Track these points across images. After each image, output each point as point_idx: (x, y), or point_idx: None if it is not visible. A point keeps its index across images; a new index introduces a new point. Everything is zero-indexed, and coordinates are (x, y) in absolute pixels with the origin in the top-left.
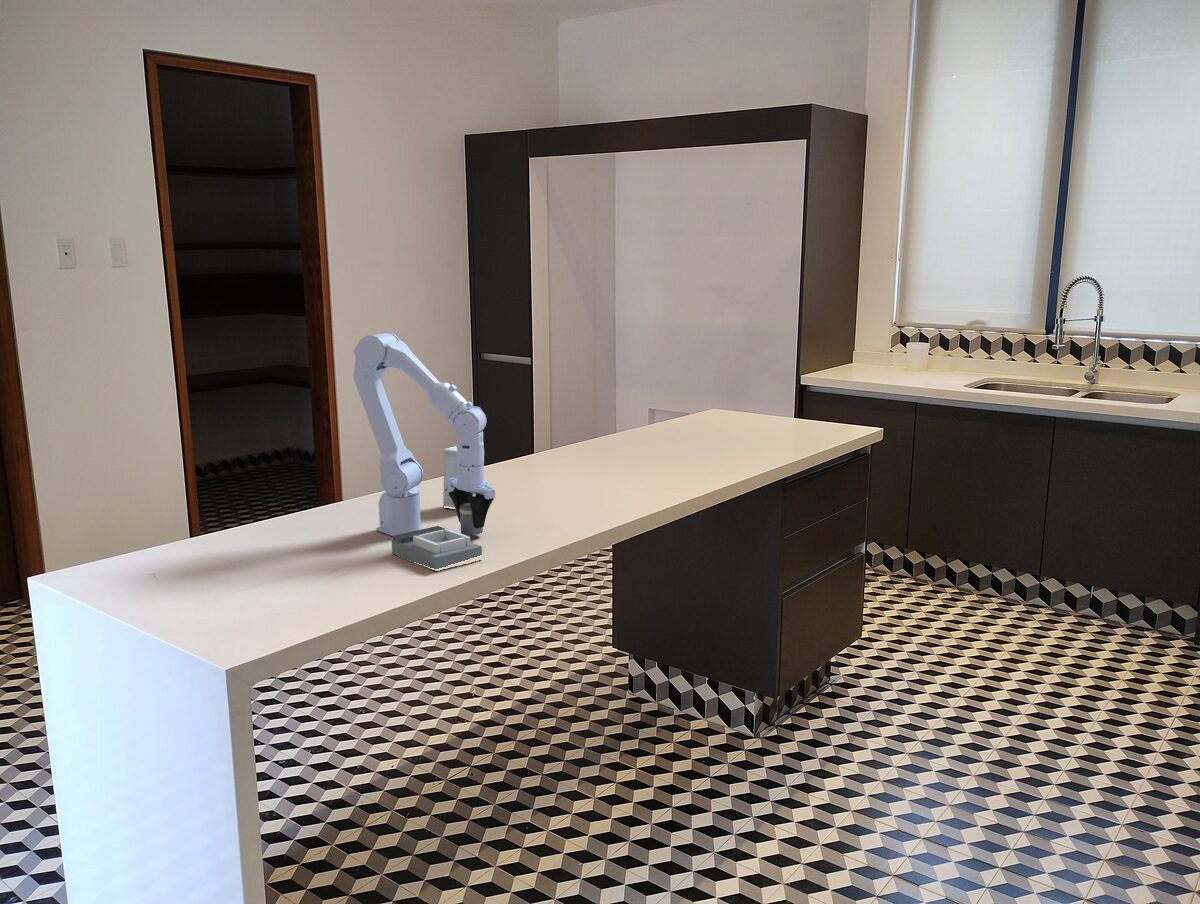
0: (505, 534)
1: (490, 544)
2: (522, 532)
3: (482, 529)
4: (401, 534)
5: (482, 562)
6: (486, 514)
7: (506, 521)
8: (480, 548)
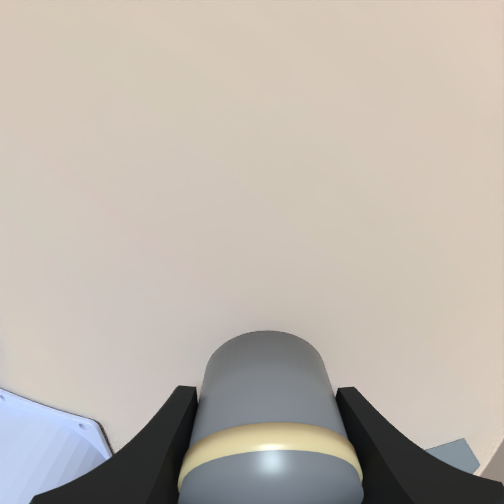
0: (367, 213)
1: (413, 365)
2: (402, 118)
3: (319, 360)
4: None
5: (469, 439)
6: (399, 432)
7: (150, 34)
8: (475, 463)
